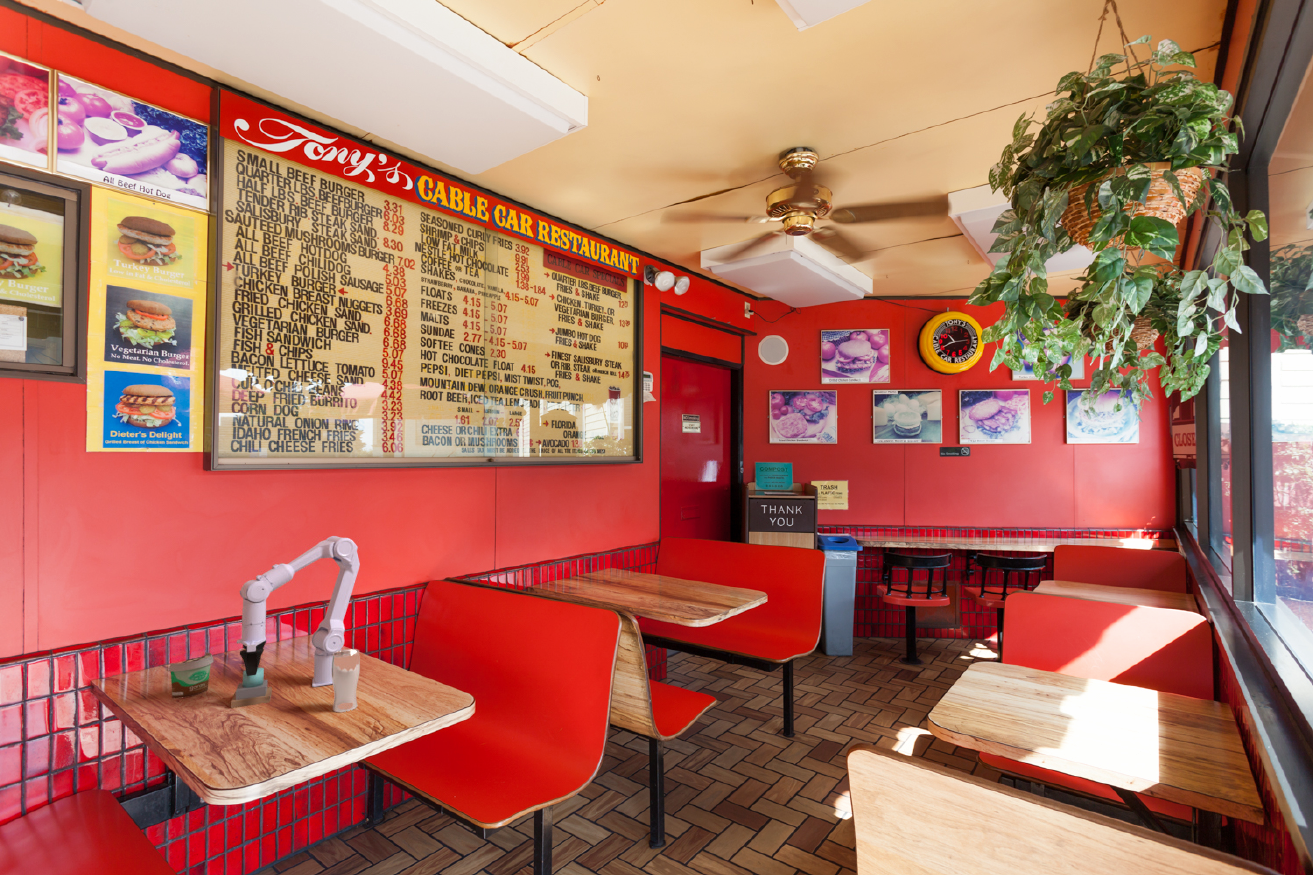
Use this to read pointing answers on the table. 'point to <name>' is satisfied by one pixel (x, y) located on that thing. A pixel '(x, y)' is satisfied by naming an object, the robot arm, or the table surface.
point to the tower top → (251, 691)
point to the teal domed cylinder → (253, 678)
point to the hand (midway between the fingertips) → (252, 671)
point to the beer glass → (345, 679)
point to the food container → (190, 676)
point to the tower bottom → (251, 700)
